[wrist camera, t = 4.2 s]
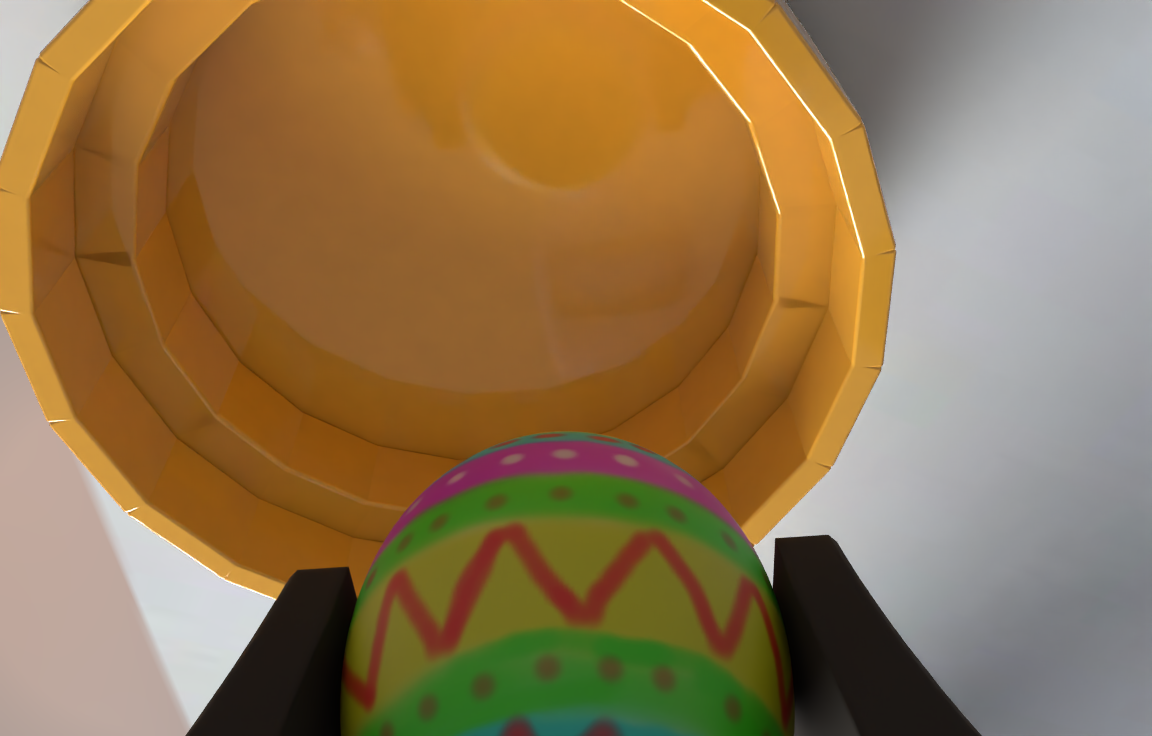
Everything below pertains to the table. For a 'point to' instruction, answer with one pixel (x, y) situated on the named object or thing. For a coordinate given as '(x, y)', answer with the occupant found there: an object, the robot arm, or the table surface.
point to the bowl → (434, 255)
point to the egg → (567, 605)
